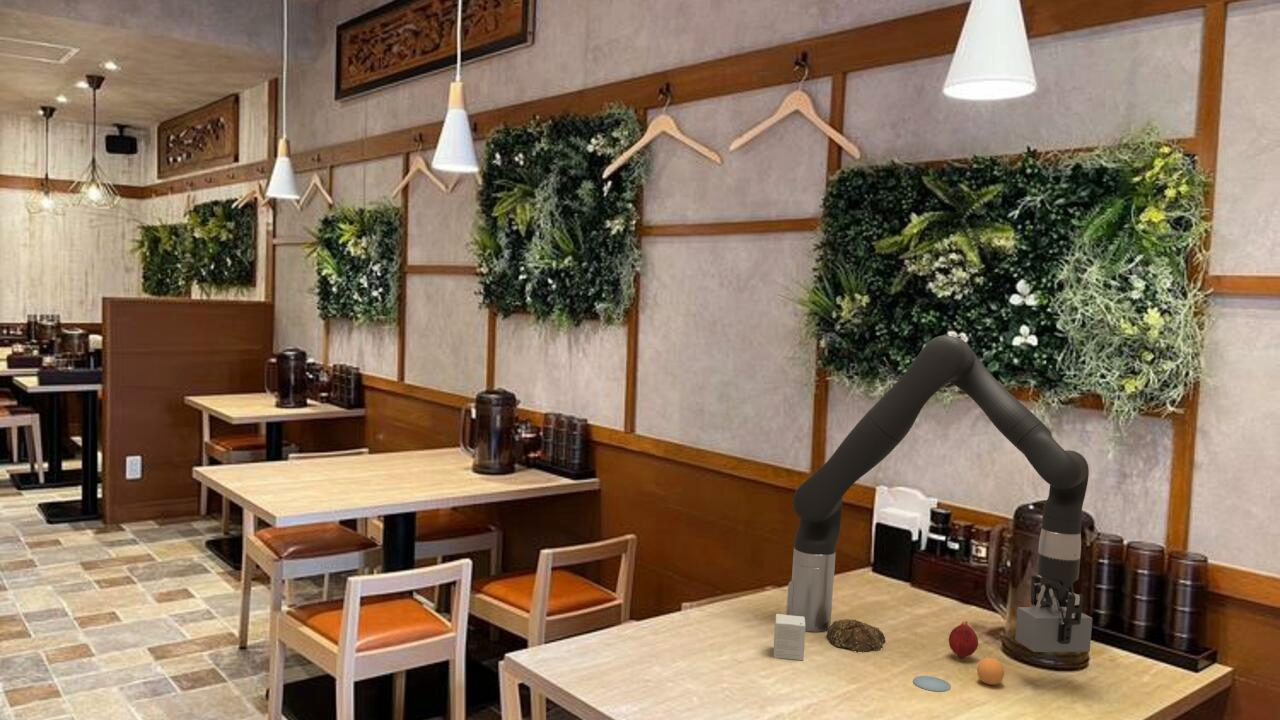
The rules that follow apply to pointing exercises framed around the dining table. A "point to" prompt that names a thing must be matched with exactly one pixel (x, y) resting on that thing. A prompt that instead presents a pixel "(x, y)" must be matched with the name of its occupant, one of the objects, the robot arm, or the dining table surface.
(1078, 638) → the gray rectangular prism
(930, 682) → the spot
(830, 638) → the bread roll
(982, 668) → the ball
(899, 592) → the dining table surface
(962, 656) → the onion
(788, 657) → the product box
